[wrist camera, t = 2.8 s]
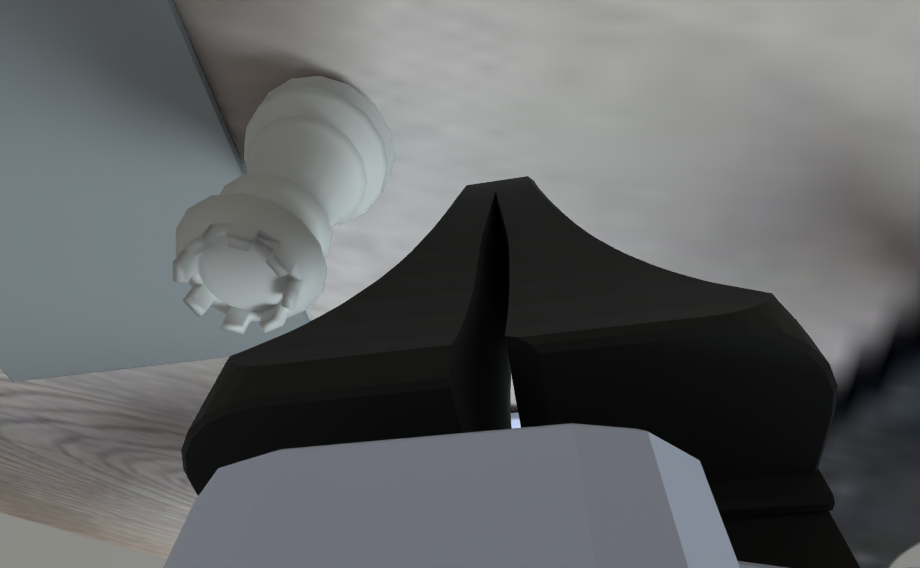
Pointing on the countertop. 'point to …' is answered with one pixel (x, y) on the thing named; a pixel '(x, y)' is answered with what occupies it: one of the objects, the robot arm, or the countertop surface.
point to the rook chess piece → (284, 204)
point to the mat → (104, 188)
